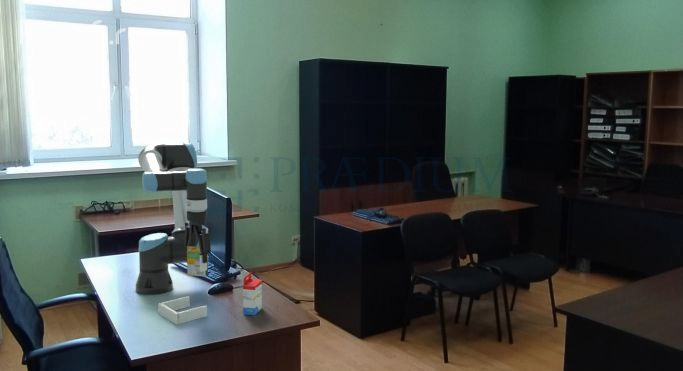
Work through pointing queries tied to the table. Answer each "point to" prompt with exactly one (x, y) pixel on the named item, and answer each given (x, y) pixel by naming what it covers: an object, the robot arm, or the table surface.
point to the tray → (184, 316)
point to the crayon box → (195, 262)
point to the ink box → (252, 295)
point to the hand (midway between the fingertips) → (197, 268)
